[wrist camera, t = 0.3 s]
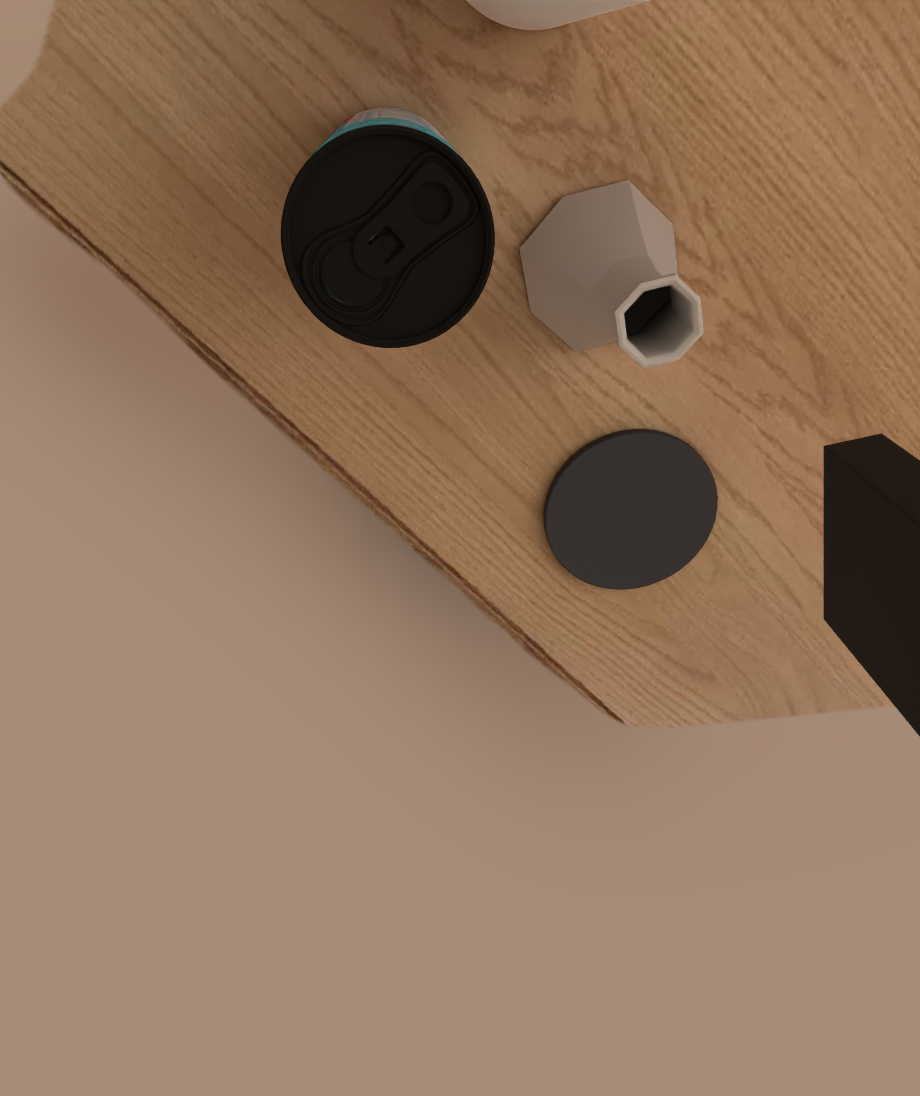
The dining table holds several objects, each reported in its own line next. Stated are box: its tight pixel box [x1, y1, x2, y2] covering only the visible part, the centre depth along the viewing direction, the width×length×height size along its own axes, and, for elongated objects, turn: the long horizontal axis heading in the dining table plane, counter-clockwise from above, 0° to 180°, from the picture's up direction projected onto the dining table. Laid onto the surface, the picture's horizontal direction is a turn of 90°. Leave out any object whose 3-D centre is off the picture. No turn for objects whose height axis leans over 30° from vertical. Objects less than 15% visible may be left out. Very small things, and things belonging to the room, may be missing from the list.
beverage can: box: [281, 107, 495, 348], centre depth 31 cm, size 6×6×15 cm
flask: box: [519, 180, 703, 368], centre depth 35 cm, size 7×7×10 cm
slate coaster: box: [544, 429, 718, 589], centre depth 46 cm, size 9×9×1 cm
